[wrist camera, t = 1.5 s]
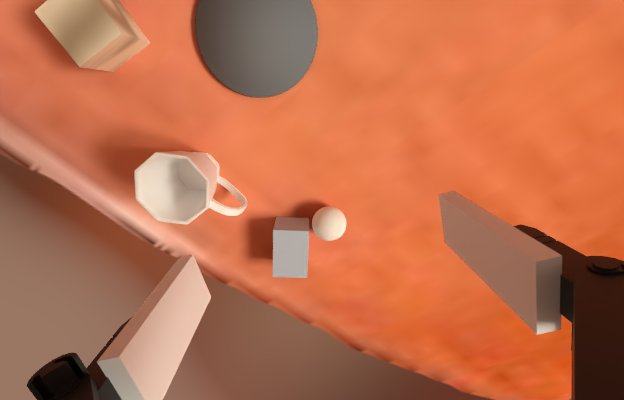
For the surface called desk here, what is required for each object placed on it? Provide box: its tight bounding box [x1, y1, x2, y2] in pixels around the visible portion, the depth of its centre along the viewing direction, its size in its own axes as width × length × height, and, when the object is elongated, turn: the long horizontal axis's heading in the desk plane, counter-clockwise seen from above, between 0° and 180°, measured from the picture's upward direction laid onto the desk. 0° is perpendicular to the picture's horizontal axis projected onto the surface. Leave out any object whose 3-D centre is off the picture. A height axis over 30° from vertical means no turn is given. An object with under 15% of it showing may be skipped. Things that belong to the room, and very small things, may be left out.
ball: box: [312, 206, 346, 241], centre depth 35 cm, size 4×4×4 cm
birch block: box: [34, 0, 150, 72], centre depth 27 cm, size 5×5×5 cm
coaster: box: [195, 0, 318, 97], centre depth 30 cm, size 12×12×1 cm
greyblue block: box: [273, 217, 309, 278], centre depth 36 cm, size 6×4×4 cm, turn 177°
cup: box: [134, 151, 248, 224], centre depth 31 cm, size 7×10×8 cm
